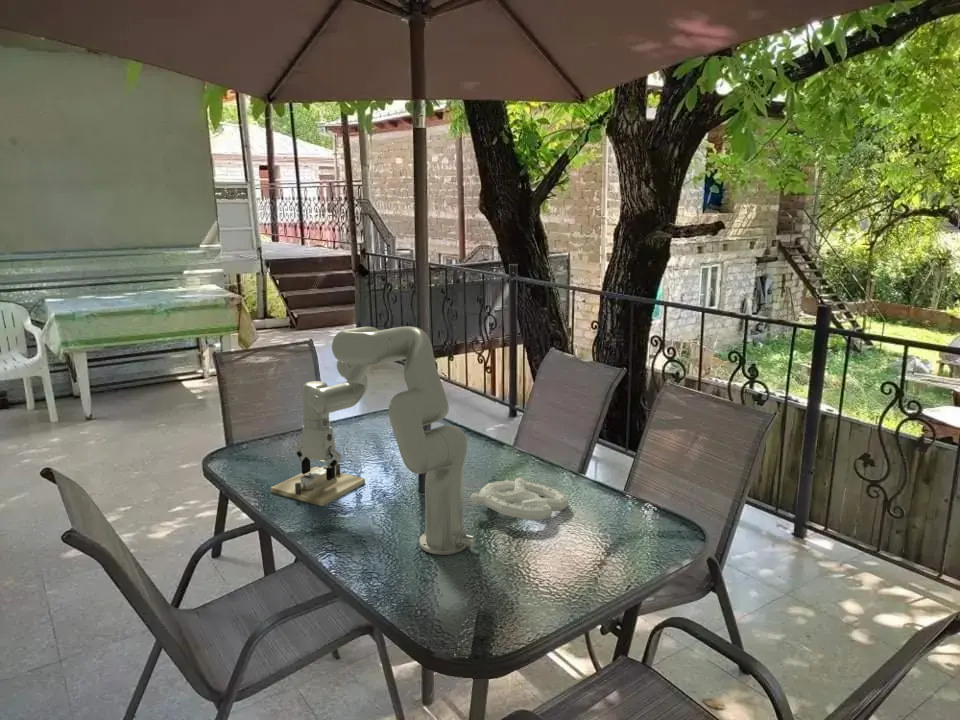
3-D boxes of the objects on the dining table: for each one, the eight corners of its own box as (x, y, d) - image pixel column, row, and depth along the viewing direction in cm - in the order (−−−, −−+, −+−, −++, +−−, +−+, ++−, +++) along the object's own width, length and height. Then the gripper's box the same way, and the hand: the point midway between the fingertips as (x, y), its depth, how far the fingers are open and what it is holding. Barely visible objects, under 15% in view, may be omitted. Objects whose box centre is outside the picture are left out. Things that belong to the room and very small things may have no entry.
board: (365, 482, 220) (364, 469, 219) (322, 506, 202) (321, 491, 201) (315, 470, 229) (315, 457, 228) (270, 492, 212) (270, 478, 211)
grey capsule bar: (338, 476, 220) (338, 466, 219) (308, 492, 208) (307, 481, 207) (328, 474, 222) (328, 463, 221) (298, 489, 210) (297, 478, 209)
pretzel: (509, 488, 221) (511, 468, 220) (576, 510, 208) (579, 489, 207) (458, 508, 198) (460, 486, 197) (531, 533, 185) (534, 510, 184)
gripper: (347, 423, 210) (348, 477, 214) (303, 414, 218) (305, 466, 222) (330, 430, 204) (332, 485, 208) (285, 421, 212) (288, 474, 215)
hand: (318, 475), depth 215 cm, fingers open, 9 cm apart
